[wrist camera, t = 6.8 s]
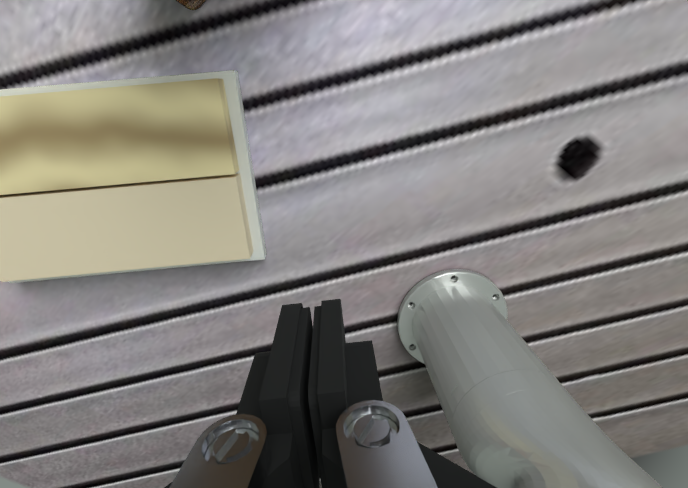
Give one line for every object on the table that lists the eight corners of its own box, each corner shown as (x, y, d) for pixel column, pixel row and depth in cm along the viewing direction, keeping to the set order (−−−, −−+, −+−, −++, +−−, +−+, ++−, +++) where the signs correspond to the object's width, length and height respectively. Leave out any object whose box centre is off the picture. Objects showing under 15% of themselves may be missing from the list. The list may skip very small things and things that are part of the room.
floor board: (266, 254, 42) (261, 266, 39) (20, 277, 41) (-6, 292, 38) (237, 71, 36) (228, 68, 33) (-52, 95, 35) (-91, 95, 32)
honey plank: (239, 169, 37) (235, 174, 35) (-17, 192, 37) (-35, 198, 35) (223, 78, 34) (217, 78, 32) (-56, 102, 34) (-78, 103, 32)
